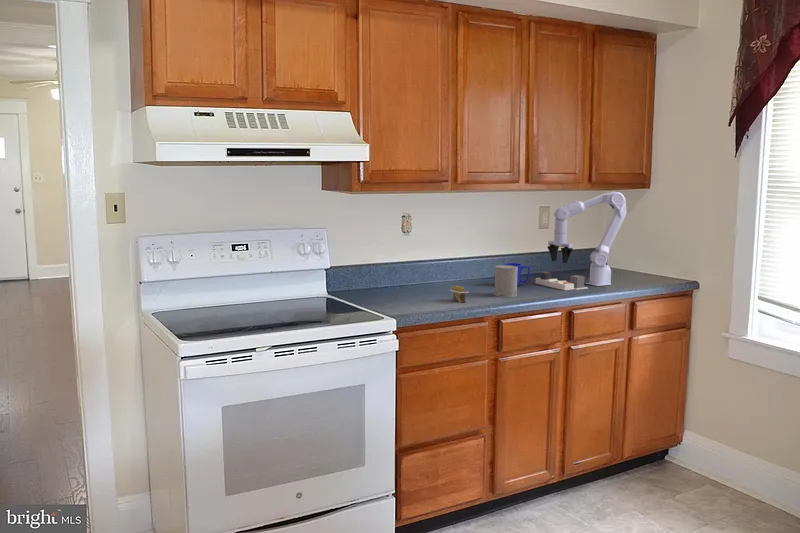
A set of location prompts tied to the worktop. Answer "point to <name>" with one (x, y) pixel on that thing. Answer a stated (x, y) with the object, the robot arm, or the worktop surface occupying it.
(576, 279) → the block
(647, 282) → the worktop surface
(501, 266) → the gray concrete cylinder
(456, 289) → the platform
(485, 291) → the worktop surface
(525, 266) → the mug
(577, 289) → the mat
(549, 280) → the power strip
